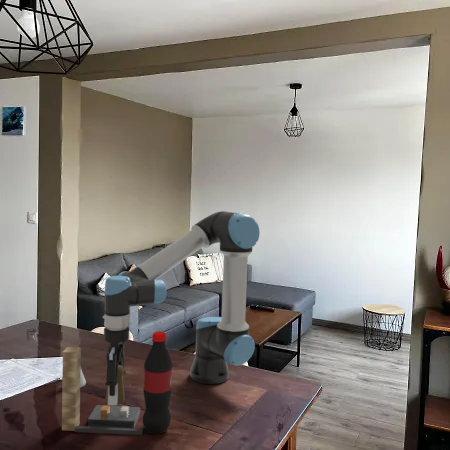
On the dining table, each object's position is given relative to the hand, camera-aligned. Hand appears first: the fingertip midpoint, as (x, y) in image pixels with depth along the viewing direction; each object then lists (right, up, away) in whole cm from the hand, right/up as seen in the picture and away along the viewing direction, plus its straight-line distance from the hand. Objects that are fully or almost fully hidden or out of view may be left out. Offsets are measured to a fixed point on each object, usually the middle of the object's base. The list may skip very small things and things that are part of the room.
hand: (115, 399), depth 147 cm
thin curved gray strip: (0, -7, -6) cm, 10 cm away
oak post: (-12, -7, -4) cm, 15 cm away
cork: (0, -1, 0) cm, 0 cm away
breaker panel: (0, -7, +1) cm, 7 cm away
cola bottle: (+13, -8, -3) cm, 16 cm away
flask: (-20, -4, +25) cm, 32 cm away
